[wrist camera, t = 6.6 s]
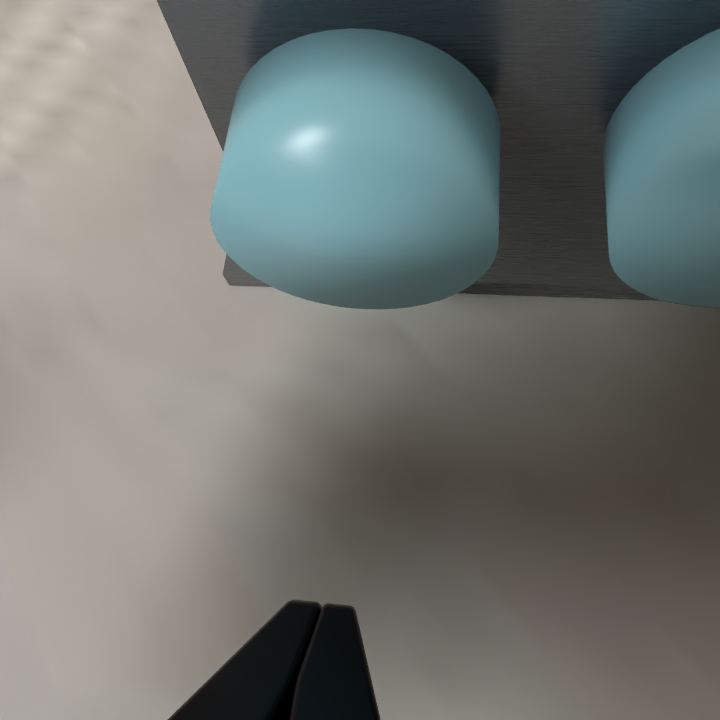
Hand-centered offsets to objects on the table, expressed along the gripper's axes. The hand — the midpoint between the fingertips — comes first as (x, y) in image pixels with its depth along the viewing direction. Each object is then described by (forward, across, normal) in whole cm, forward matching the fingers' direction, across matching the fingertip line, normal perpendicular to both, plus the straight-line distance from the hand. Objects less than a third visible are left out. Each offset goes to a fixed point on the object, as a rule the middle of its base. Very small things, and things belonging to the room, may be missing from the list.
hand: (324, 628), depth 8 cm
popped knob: (+8, 0, -5) cm, 10 cm away
